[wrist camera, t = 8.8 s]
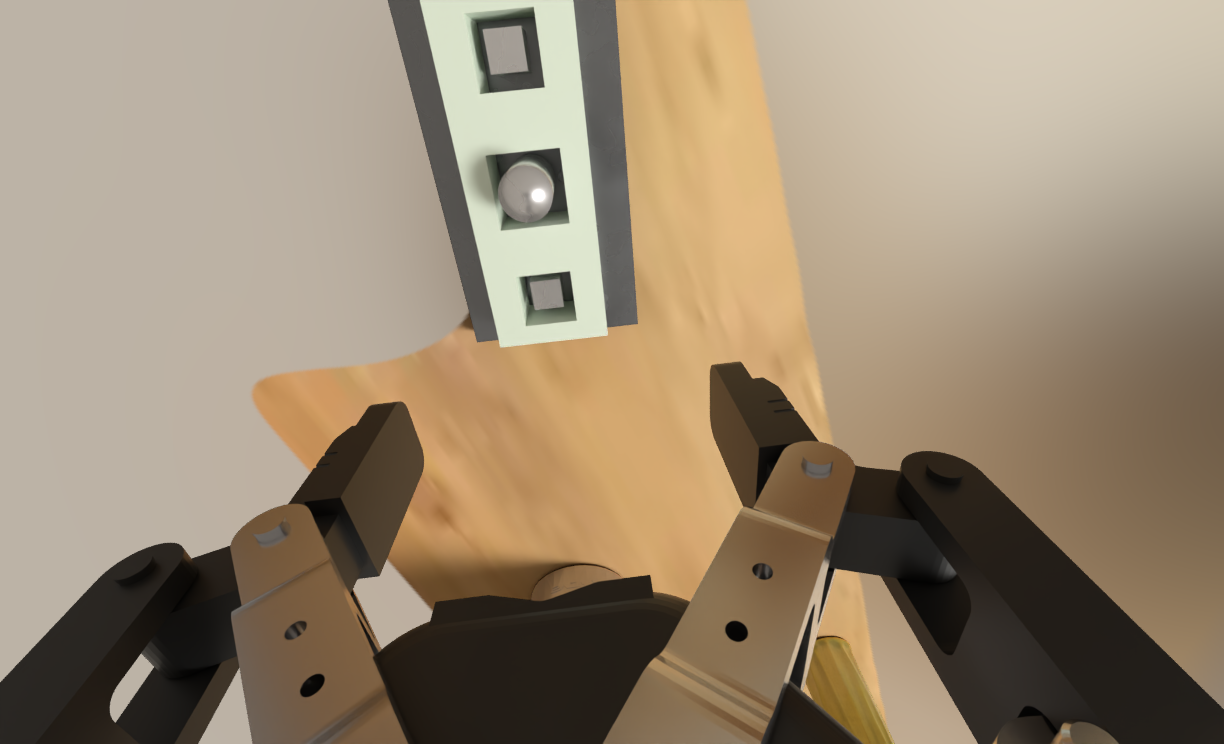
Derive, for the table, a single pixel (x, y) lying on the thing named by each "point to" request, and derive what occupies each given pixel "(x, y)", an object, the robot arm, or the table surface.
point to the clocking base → (532, 153)
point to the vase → (845, 691)
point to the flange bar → (518, 127)
